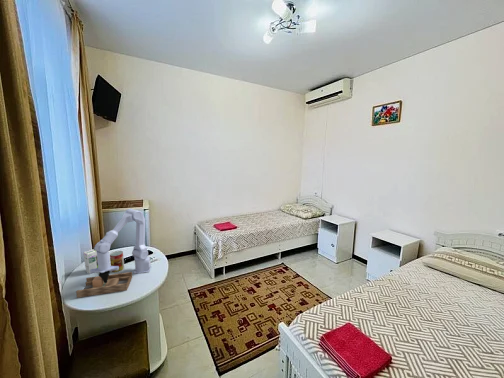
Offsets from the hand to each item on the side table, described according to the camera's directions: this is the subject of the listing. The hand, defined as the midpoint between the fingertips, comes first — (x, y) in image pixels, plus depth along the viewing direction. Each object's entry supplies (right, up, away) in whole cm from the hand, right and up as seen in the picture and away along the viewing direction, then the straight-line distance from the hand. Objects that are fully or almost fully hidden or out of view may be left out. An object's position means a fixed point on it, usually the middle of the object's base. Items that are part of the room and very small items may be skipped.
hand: (105, 282), depth 131 cm
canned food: (-5, 0, +21) cm, 21 cm away
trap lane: (0, -3, +1) cm, 3 cm away
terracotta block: (-4, -1, -1) cm, 4 cm away
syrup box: (-21, 0, +18) cm, 28 cm away
